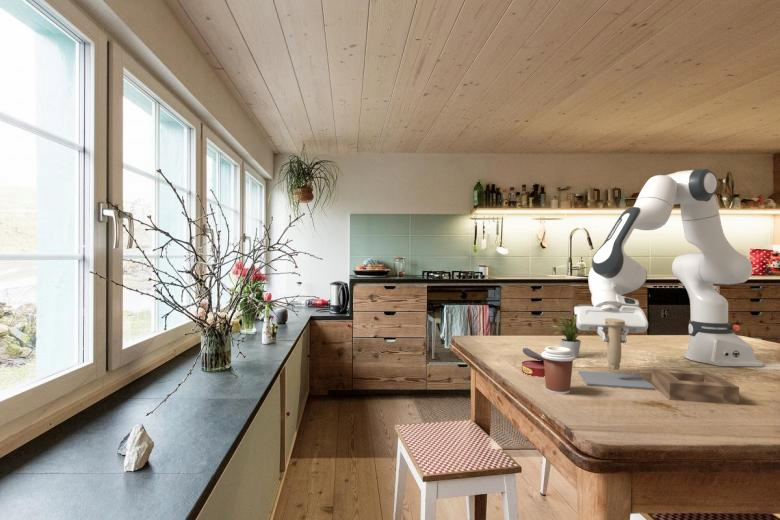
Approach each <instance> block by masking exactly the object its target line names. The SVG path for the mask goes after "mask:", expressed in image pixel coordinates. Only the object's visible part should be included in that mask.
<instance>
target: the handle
mask: <svg viewBox="0 0 780 520" xmlns="http://www.w3.org/2000/svg"><path fill="white" fill-rule="evenodd" d="M605 324H606V325H607V326H608V331H607V332H608V333H607V335H608V337H609V341H608V342H606V343H607V346H606V357H607V363H608V364H607V367H608V369H609V370H613V371H615V370H616V371H618V370H620V368H621V367H620V366H621V360H622V343H621V335H622V332H621V327H623V326H624V325H625V321H624V320H620V319H612V318H607V319H605Z"/></svg>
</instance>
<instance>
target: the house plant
mask: <svg viewBox="0 0 780 520" xmlns="http://www.w3.org/2000/svg"><path fill="white" fill-rule="evenodd" d="M574 315H575V313H574V314H572V316H571V318H570V322H569V320H568V319H567V317H566V316H565V315H563V316H560V315H559V317H560V318H561V319H560V320H557V319H556V318H554V321H556V322H557V323H559V324H560V323H561V324H560V326H557V325H551V327H553V328H555V329H554V330H556V331H555V332H554V334H555V336H556V334H557V335H558V334H559V333H560V334H561V335H563V337H564V338H560V345H561V347H566V348H569V349H571V350H572V353H573V354H574V355H575V359H578V358H579V353H580V349H581V344H582V341H581V339H577V338H578V337H579V336H580V334H581V333H584V332H589V331H588V330H582V331H580V330H579V329H578V328H577V326H576V318H577V315H575V316H574ZM550 319H553V318H550ZM556 328H557V329H556ZM557 330H558V331H557ZM559 330H560V331H559ZM578 331H580V332H578Z"/></svg>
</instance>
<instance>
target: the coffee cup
mask: <svg viewBox="0 0 780 520" xmlns="http://www.w3.org/2000/svg"><path fill="white" fill-rule="evenodd" d="M540 355H541V356H542V358H544V370H545V377H544V378H545V379H544V380H545V390H546V391H547V392H548V391H549V392H548V393H550V392H553V393H552V394H554V393H559V394H558V395H568V394H570V393H571V384H572V376H573V375H572V374H573V363H574V361H575V360H576V358H575V355H574V354H573V353H572V350H571V349H569V348H566V347H562V346H557V345H550V346H546V347H545V348H544V350H543V351H542V352H541V354H540ZM569 392H570V393H569ZM567 393H568V394H567Z"/></svg>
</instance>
